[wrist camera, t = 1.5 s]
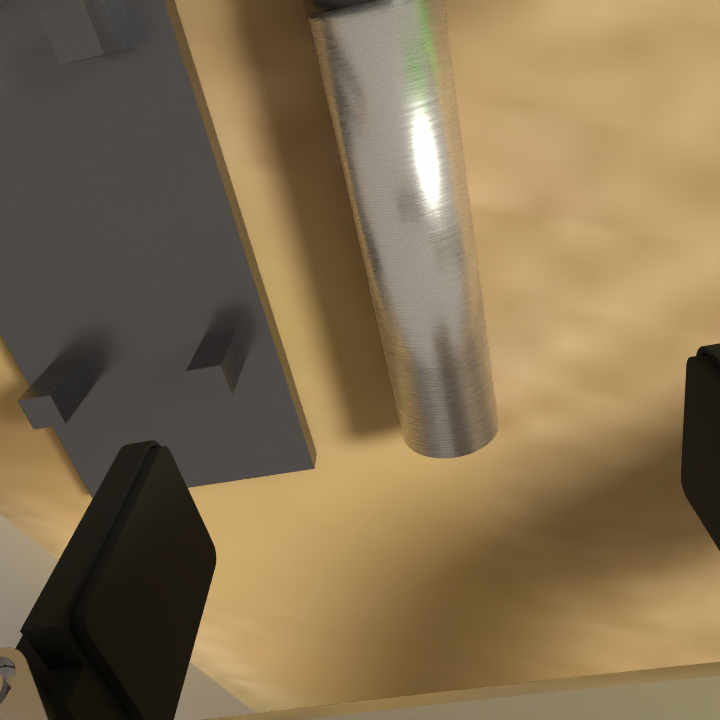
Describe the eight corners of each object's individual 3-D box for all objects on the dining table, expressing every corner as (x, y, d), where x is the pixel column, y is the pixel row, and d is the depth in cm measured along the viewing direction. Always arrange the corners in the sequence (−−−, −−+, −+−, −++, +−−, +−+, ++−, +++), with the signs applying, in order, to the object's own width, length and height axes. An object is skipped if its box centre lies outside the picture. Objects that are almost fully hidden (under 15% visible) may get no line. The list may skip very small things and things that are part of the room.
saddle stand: (91, -263, 19) (-166, -491, 10) (316, 453, 33) (291, 627, 24) (-245, -155, 21) (-725, -269, 12) (103, 486, 34) (3, 661, 25)
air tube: (293, -71, 21) (276, -86, 18) (424, -106, 21) (436, -129, 17) (399, 408, 31) (403, 466, 27) (491, 392, 31) (508, 450, 27)
